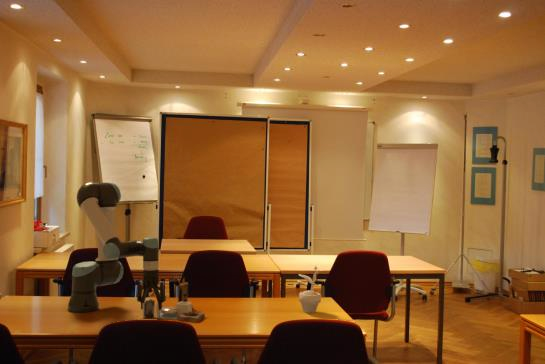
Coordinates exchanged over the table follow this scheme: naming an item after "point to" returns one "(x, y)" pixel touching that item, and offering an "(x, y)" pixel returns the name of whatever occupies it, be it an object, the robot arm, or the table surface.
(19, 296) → the table surface
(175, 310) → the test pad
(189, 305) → the cup
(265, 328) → the table surface
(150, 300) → the cell
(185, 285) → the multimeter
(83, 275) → the robot arm
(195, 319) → the brown square tray
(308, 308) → the potted plant
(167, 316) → the base
